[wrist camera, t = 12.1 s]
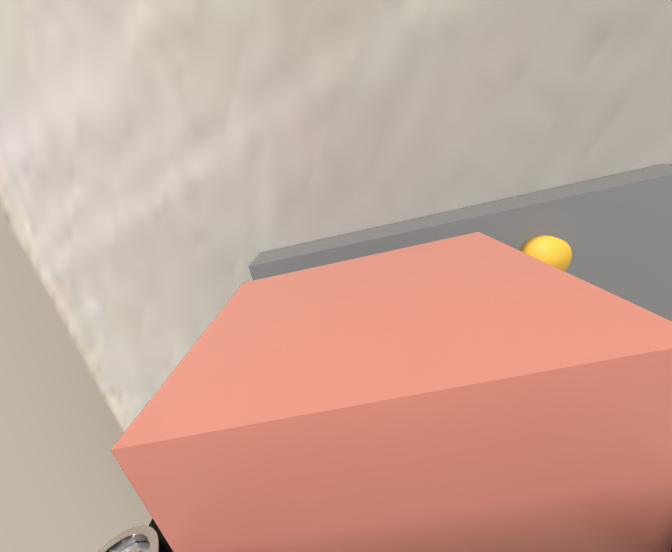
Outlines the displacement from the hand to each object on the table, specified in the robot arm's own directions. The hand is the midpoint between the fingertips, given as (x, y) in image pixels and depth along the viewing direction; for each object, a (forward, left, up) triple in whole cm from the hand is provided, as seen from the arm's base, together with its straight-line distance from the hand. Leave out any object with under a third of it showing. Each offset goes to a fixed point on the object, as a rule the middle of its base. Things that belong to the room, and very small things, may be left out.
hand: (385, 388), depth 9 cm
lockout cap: (0, 0, -2) cm, 2 cm away
